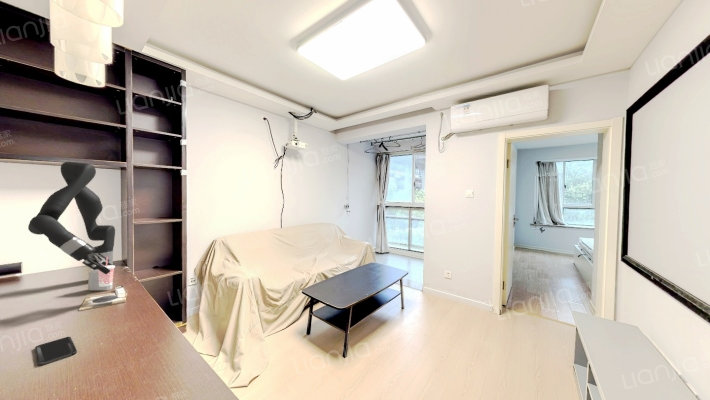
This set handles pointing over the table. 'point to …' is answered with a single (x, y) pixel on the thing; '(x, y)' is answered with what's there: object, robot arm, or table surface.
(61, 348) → the phone
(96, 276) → the photo printer
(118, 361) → the table surface
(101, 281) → the beverage cup
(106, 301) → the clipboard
